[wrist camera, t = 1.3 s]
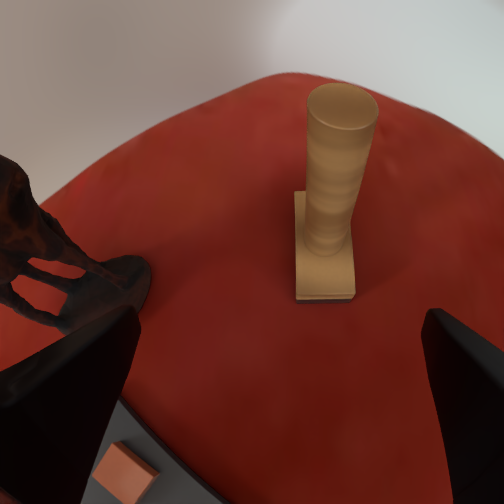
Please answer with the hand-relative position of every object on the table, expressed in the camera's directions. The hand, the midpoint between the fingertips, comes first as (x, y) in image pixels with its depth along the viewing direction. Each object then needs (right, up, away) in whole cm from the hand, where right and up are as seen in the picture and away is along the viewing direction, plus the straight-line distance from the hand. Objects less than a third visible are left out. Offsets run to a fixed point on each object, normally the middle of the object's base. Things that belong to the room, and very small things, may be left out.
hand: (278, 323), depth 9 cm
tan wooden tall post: (+5, +2, +16) cm, 16 cm away
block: (-10, -15, +10) cm, 20 cm away
